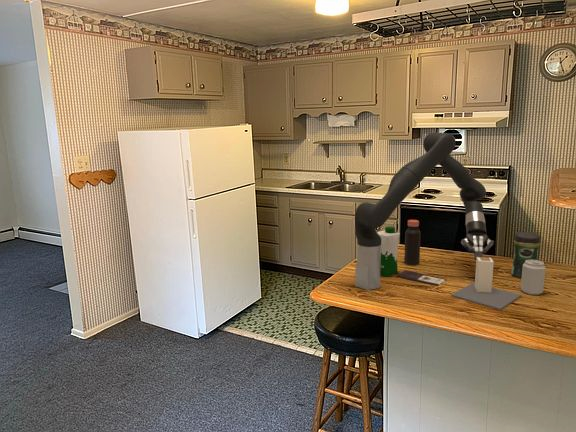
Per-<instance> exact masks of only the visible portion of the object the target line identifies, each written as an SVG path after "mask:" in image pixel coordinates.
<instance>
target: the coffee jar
mask: <svg viewBox="0 0 576 432" xmlns="http://www.w3.org/2000/svg"><path fill="white" fill-rule="evenodd" d="M540 237H541V236H540V234H539V233H538V232H537V233H536V232H528V231H516V233H515V235H514V239H513V245H514V255H513V259H512V266H511V275H512V276H514V277H517V278H521V279H522V268H523V264H524V263H525V261H526V260H538V252H539V251H538V250H539V247H540V246H541V238H540Z"/></svg>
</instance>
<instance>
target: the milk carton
mask: <svg viewBox="0 0 576 432" xmlns="http://www.w3.org/2000/svg"><path fill="white" fill-rule="evenodd" d="M376 232H377V233H378V235H379V236H380V237H381V277H386V278H390V277H391V276H396V275H398V274H399V273H398V253H399V239H400V235H401V233H400V232H397V231H396V227H394V226H386V227H385V230H381V231H376Z"/></svg>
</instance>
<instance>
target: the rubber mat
mask: <svg viewBox="0 0 576 432" xmlns="http://www.w3.org/2000/svg"><path fill="white" fill-rule="evenodd" d="M450 297H453V298H457V299H460V300H463V301H466V302H470V303H474V304H477V305H481V306H484V307H488V308H491V309H494V310H498V311H502V310H503V309H505V308H506V307H508V306H509V305H510V304H513V303H514V302H515V301H517V300H518V299H519V298H521V297H522V294H521V293H517V292H511V291H507V290H504V289H500V288H496V287H493V286H492V290H491V292H477V291H476V289H475V282H472V283H470V284H468V285H467V286H464V287H463V288H461V289H458V290H457V291H455V292H453V293H451V294H450Z"/></svg>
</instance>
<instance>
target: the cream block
mask: <svg viewBox="0 0 576 432" xmlns="http://www.w3.org/2000/svg"><path fill="white" fill-rule="evenodd" d="M475 262H476V263H475V275H474V277H475V278H474V283H475V289H476V291H477V292H491V290H492V287H493V276H494V264H495V263H494V260H493V259H492V257H485V256H483V257H477V259H476V261H475Z"/></svg>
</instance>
